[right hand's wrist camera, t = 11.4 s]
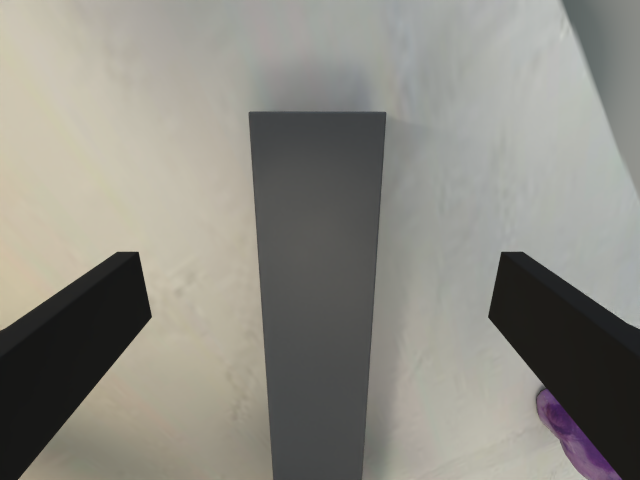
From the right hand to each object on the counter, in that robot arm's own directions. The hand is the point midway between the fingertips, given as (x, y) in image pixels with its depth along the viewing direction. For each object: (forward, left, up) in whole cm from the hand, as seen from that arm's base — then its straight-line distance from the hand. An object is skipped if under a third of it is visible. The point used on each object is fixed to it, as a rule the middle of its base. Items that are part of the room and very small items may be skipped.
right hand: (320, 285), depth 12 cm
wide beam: (+6, -19, -20) cm, 28 cm away
